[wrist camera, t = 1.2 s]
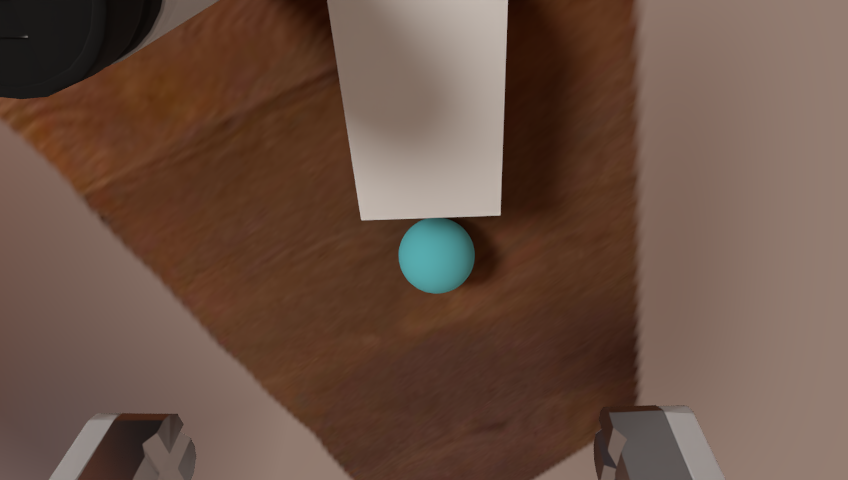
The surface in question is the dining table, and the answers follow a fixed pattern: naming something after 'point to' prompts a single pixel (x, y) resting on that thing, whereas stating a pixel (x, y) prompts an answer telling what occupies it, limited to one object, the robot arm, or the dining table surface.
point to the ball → (436, 255)
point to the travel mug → (77, 38)
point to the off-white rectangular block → (423, 104)
